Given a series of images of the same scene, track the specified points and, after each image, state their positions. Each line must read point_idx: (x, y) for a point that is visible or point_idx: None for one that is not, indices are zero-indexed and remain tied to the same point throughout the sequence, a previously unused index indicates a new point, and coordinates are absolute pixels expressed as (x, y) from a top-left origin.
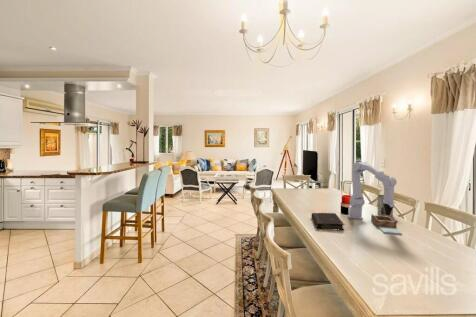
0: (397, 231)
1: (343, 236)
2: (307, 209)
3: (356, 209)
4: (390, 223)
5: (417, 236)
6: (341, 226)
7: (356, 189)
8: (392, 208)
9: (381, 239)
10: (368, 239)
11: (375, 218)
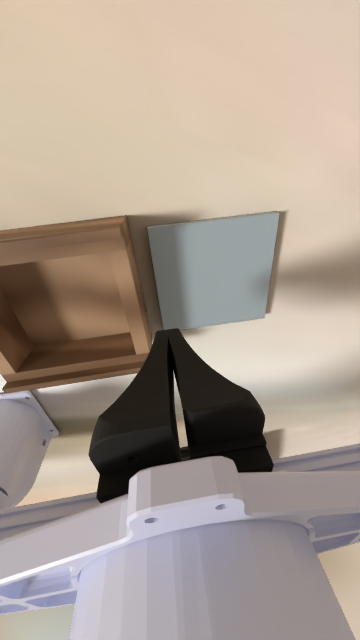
0: (242, 236)
1: (315, 426)
2: None
3: (15, 474)
4: (134, 272)
5: (294, 68)
6: None
7: None
8: (229, 381)
9: (347, 330)
10: (345, 371)
11: (120, 373)
